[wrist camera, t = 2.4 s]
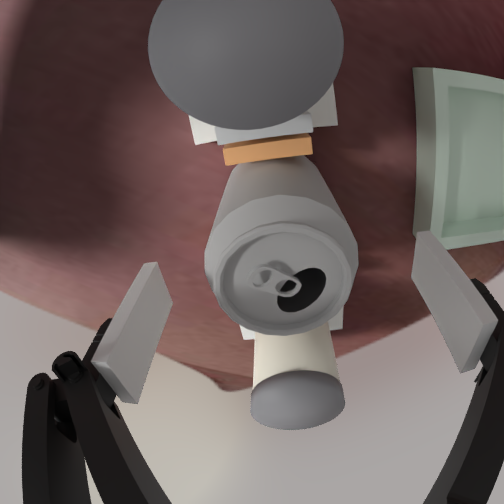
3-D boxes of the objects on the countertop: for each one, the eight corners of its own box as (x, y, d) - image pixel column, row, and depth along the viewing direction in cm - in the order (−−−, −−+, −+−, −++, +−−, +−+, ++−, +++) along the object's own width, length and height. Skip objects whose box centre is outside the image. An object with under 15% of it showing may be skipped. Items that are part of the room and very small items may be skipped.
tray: (412, 233, 25) (426, 252, 22) (412, 67, 17) (432, 67, 15) (517, 220, 23) (534, 235, 20) (529, 87, 16) (550, 93, 13)
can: (288, 249, 26) (300, 364, 16) (209, 206, 24) (171, 308, 14) (342, 179, 23) (401, 268, 12) (259, 125, 21) (255, 173, 10)
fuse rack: (244, 331, 31) (236, 439, 21) (174, 22, 16) (85, -23, 6) (340, 320, 30) (363, 427, 20) (315, 0, 15) (369, -72, 5)
